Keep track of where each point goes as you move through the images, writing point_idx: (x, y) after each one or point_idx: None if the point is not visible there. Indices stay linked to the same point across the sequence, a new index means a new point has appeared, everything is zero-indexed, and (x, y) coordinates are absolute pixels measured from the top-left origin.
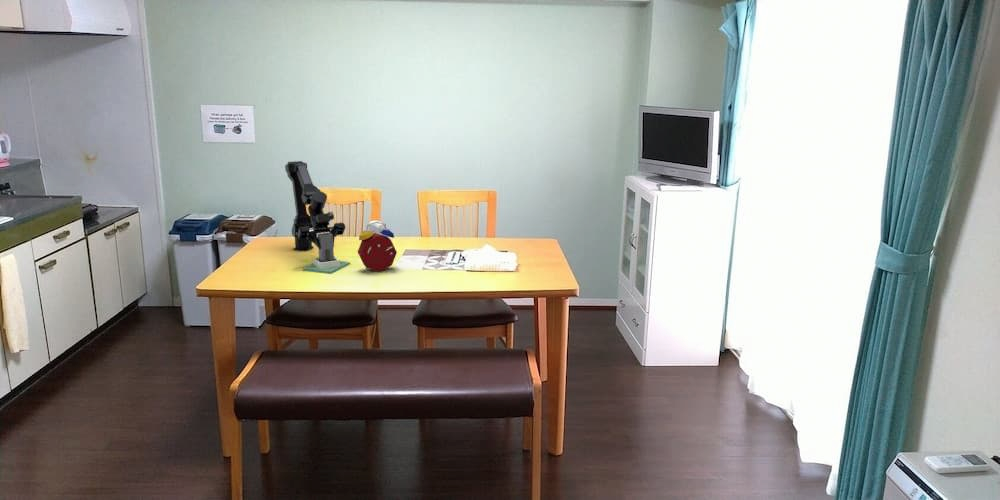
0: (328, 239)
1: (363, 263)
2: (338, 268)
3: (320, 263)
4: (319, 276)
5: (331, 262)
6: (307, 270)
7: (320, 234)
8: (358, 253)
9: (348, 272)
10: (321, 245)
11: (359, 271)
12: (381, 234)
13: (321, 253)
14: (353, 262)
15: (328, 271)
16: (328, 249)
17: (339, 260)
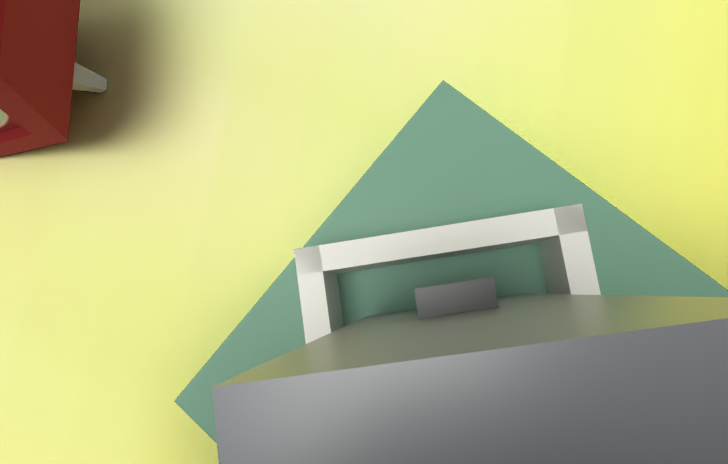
0: (429, 333)
1: (65, 76)
2: (342, 201)
3: (562, 208)
4: (573, 25)
5: (409, 231)
6: (695, 272)
7: None
8: (9, 31)
9: (268, 84)
10: (622, 295)
11: (162, 88)
12: None
13: (568, 295)
14: (135, 457)
15: (468, 99)
16: (435, 316)
17: (298, 259)
